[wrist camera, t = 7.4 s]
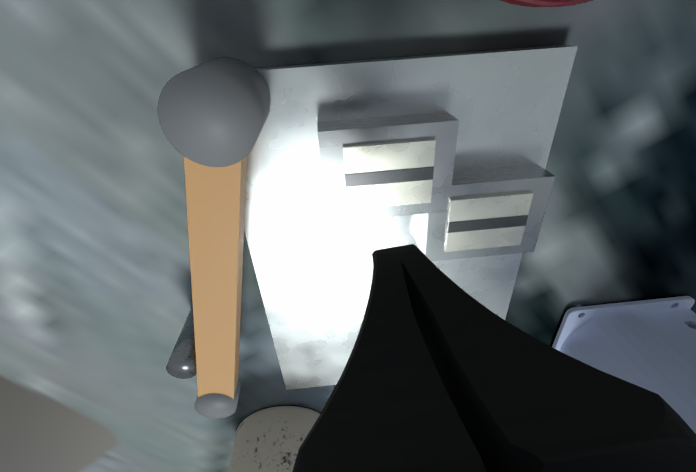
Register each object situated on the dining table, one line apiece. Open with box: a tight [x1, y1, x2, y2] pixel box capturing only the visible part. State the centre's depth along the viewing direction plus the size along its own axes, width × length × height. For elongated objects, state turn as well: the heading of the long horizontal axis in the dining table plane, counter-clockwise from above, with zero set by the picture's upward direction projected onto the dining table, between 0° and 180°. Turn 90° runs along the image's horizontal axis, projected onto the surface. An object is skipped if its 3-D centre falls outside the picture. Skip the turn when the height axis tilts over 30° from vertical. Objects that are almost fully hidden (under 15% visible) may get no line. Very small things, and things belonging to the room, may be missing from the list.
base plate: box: [166, 45, 578, 390], centre depth 19 cm, size 21×22×4 cm
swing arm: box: [158, 57, 270, 418], centre depth 17 cm, size 20×3×4 cm, turn 169°
